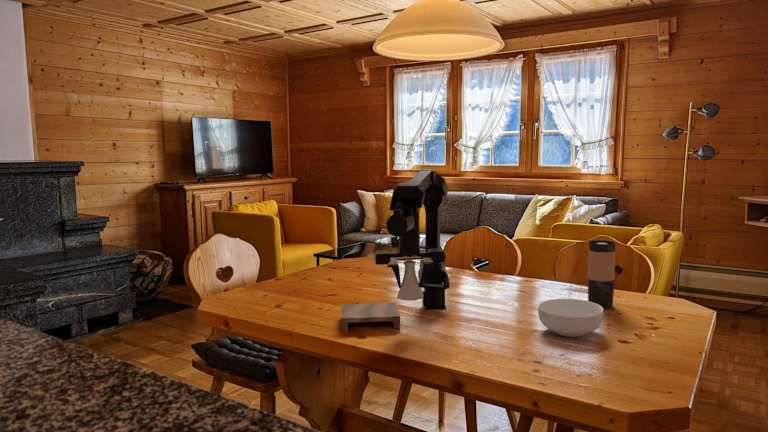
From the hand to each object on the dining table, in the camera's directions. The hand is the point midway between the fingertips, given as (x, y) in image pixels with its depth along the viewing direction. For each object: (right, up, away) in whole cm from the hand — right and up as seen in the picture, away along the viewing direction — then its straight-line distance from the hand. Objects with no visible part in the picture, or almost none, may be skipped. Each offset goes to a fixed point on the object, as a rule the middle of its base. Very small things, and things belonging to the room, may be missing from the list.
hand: (409, 287), depth 155 cm
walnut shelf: (-11, -11, +9) cm, 18 cm away
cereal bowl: (+43, -12, -1) cm, 44 cm away
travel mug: (+60, -9, +23) cm, 65 cm away
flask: (0, -3, 0) cm, 3 cm away
